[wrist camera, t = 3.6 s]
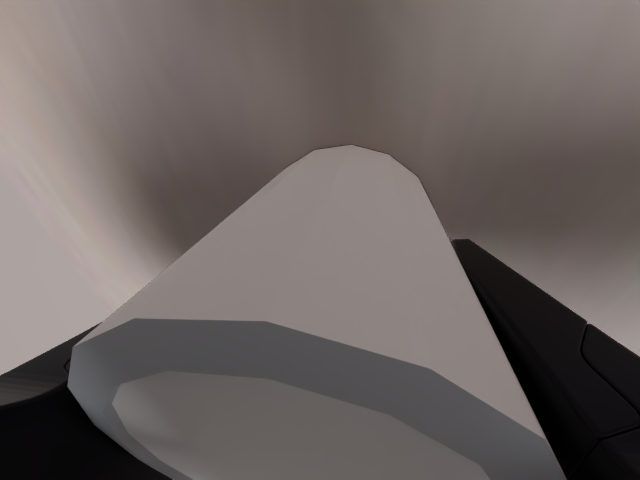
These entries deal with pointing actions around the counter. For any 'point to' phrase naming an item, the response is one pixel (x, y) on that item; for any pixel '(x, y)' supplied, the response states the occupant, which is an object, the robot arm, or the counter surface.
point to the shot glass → (314, 345)
